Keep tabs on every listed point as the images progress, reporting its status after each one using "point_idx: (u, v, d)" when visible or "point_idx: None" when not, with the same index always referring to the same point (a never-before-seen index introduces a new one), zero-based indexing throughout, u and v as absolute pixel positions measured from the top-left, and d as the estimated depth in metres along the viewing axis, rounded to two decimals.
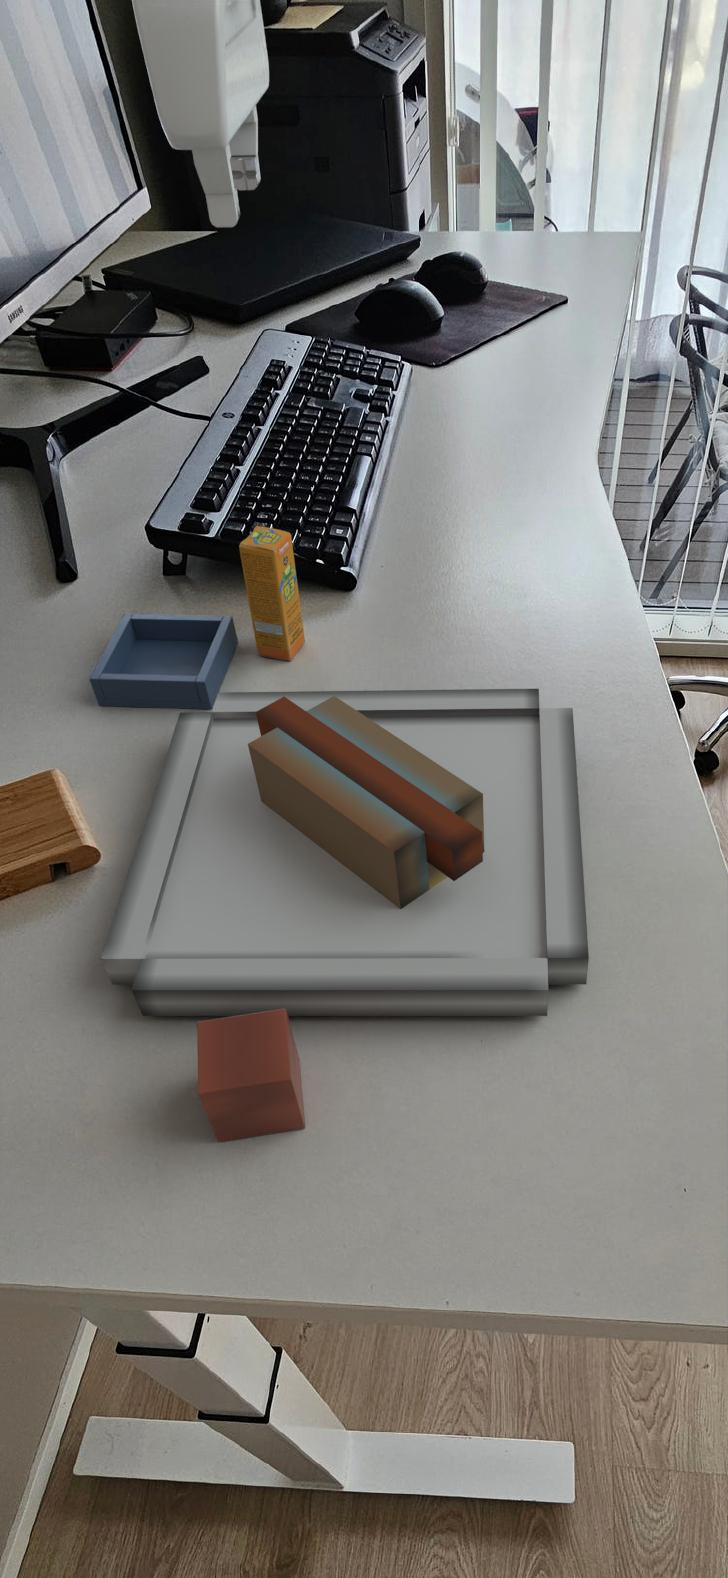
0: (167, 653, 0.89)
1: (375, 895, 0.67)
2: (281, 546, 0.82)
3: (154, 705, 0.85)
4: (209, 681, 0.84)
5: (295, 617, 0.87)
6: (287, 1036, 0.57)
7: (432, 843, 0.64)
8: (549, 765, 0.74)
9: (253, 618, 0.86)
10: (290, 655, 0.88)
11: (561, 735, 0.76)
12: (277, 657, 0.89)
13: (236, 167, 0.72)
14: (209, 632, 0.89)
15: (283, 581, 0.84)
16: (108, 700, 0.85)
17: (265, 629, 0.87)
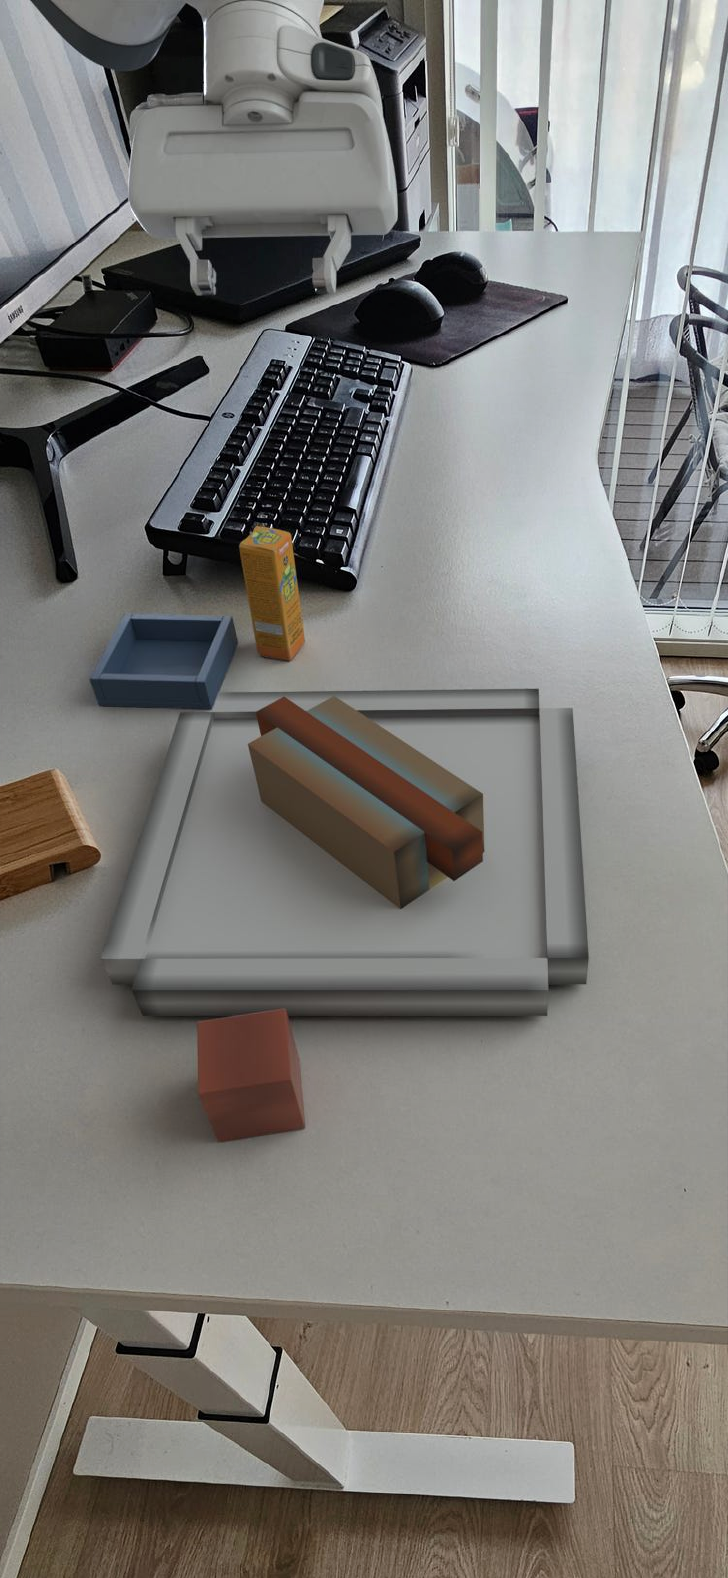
0: (167, 653, 0.89)
1: (375, 895, 0.67)
2: (281, 546, 0.82)
3: (154, 705, 0.85)
4: (209, 681, 0.84)
5: (295, 617, 0.87)
6: (287, 1036, 0.57)
7: (432, 843, 0.64)
8: (549, 765, 0.74)
9: (253, 618, 0.86)
10: (290, 655, 0.88)
11: (561, 735, 0.76)
12: (277, 657, 0.89)
13: (210, 269, 0.79)
14: (209, 632, 0.89)
15: (283, 581, 0.84)
16: (108, 700, 0.85)
17: (265, 629, 0.87)
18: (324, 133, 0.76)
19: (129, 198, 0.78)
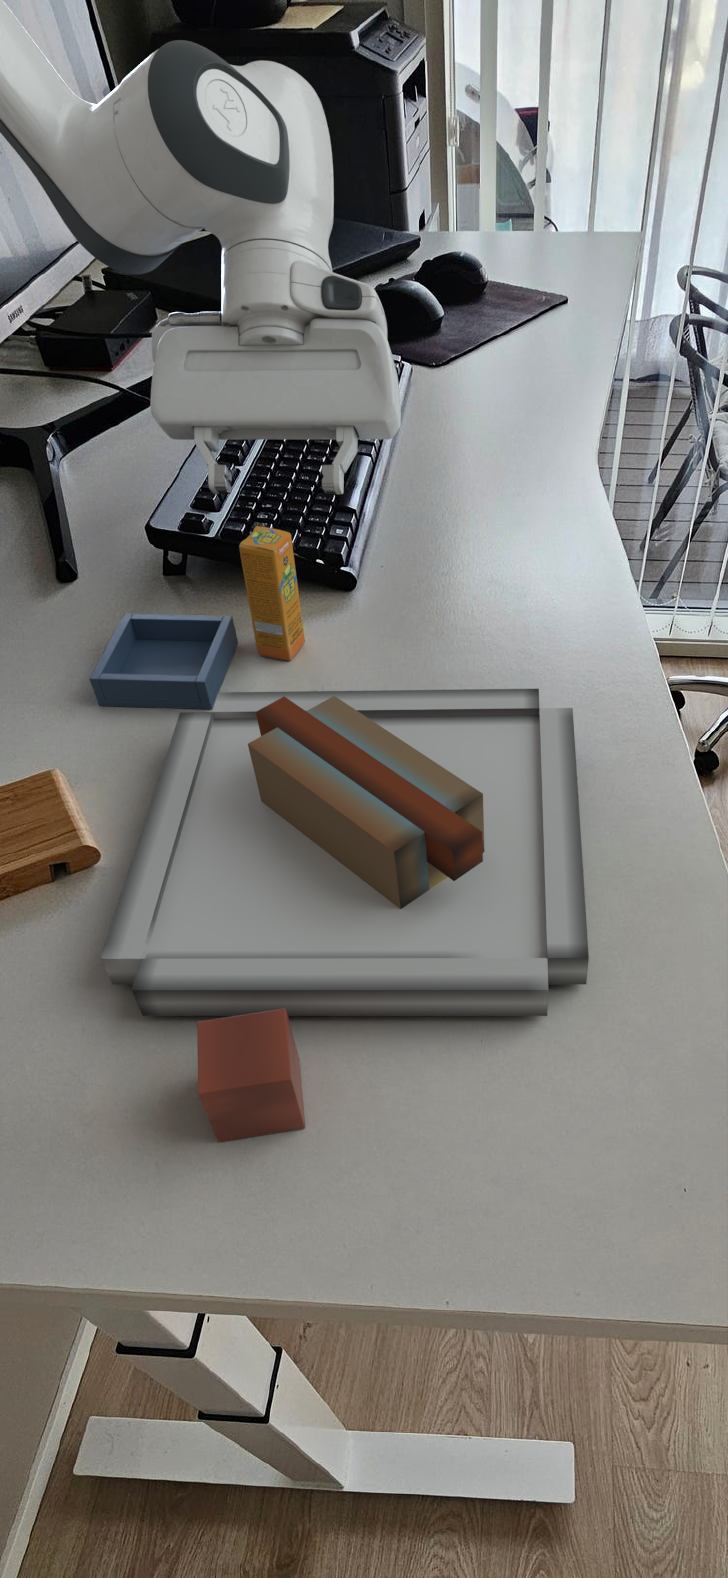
0: (167, 653, 0.89)
1: (375, 895, 0.67)
2: (281, 546, 0.82)
3: (154, 705, 0.85)
4: (209, 681, 0.84)
5: (295, 617, 0.87)
6: (287, 1036, 0.57)
7: (432, 843, 0.64)
8: (549, 765, 0.74)
9: (253, 618, 0.86)
10: (290, 655, 0.88)
11: (561, 735, 0.76)
12: (277, 657, 0.89)
13: (226, 472, 0.85)
14: (209, 632, 0.89)
15: (283, 581, 0.84)
16: (108, 700, 0.85)
17: (265, 629, 0.87)
18: (333, 353, 0.82)
19: (151, 409, 0.84)
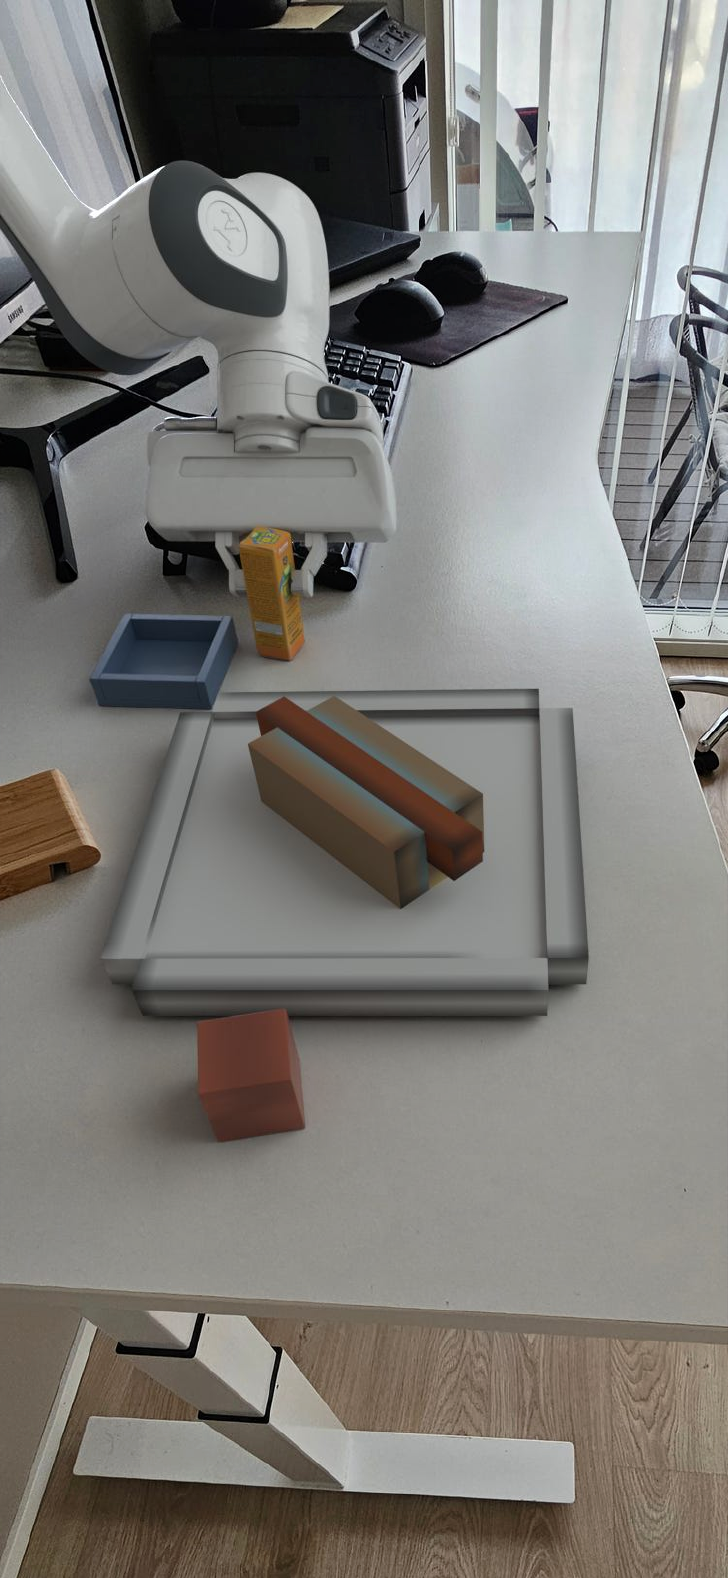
0: (167, 653, 0.89)
1: (375, 895, 0.67)
2: (281, 546, 0.82)
3: (154, 705, 0.85)
4: (209, 681, 0.84)
5: (295, 617, 0.87)
6: (287, 1036, 0.57)
7: (432, 843, 0.64)
8: (549, 765, 0.74)
9: (252, 618, 0.86)
10: (289, 655, 0.88)
11: (561, 735, 0.76)
12: (277, 657, 0.89)
13: None
14: (209, 632, 0.89)
15: (282, 581, 0.84)
16: (108, 700, 0.85)
17: (265, 629, 0.87)
18: (328, 461, 0.82)
19: (147, 515, 0.83)
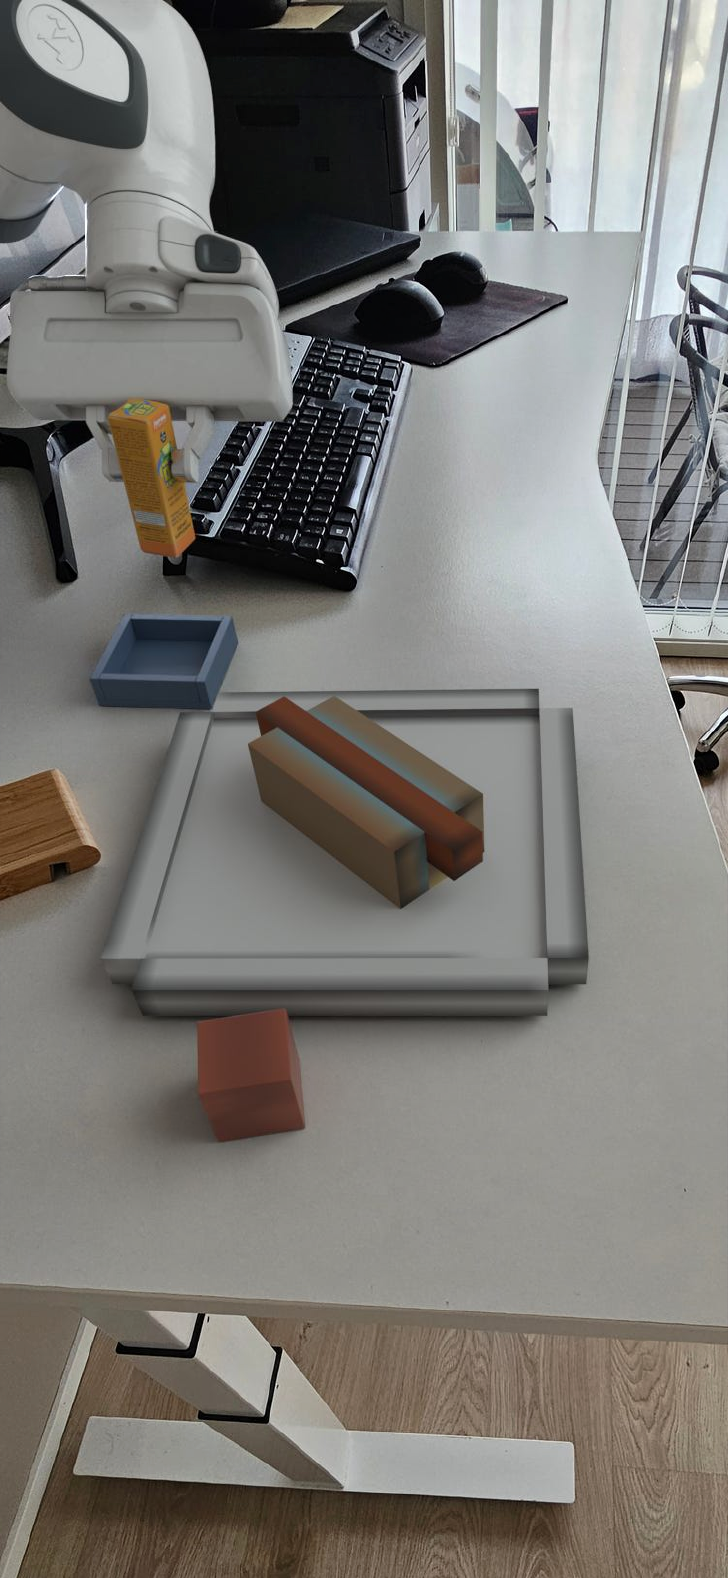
0: (167, 653, 0.89)
1: (375, 895, 0.67)
2: (156, 418, 0.72)
3: (154, 705, 0.85)
4: (209, 681, 0.84)
5: (180, 507, 0.78)
6: (287, 1036, 0.57)
7: (432, 843, 0.64)
8: (549, 765, 0.74)
9: (131, 507, 0.77)
10: (175, 551, 0.79)
11: (561, 735, 0.76)
12: (162, 553, 0.79)
13: None
14: (209, 632, 0.89)
15: (161, 461, 0.74)
16: (108, 700, 0.85)
17: (146, 520, 0.77)
18: (211, 323, 0.73)
19: (8, 385, 0.74)
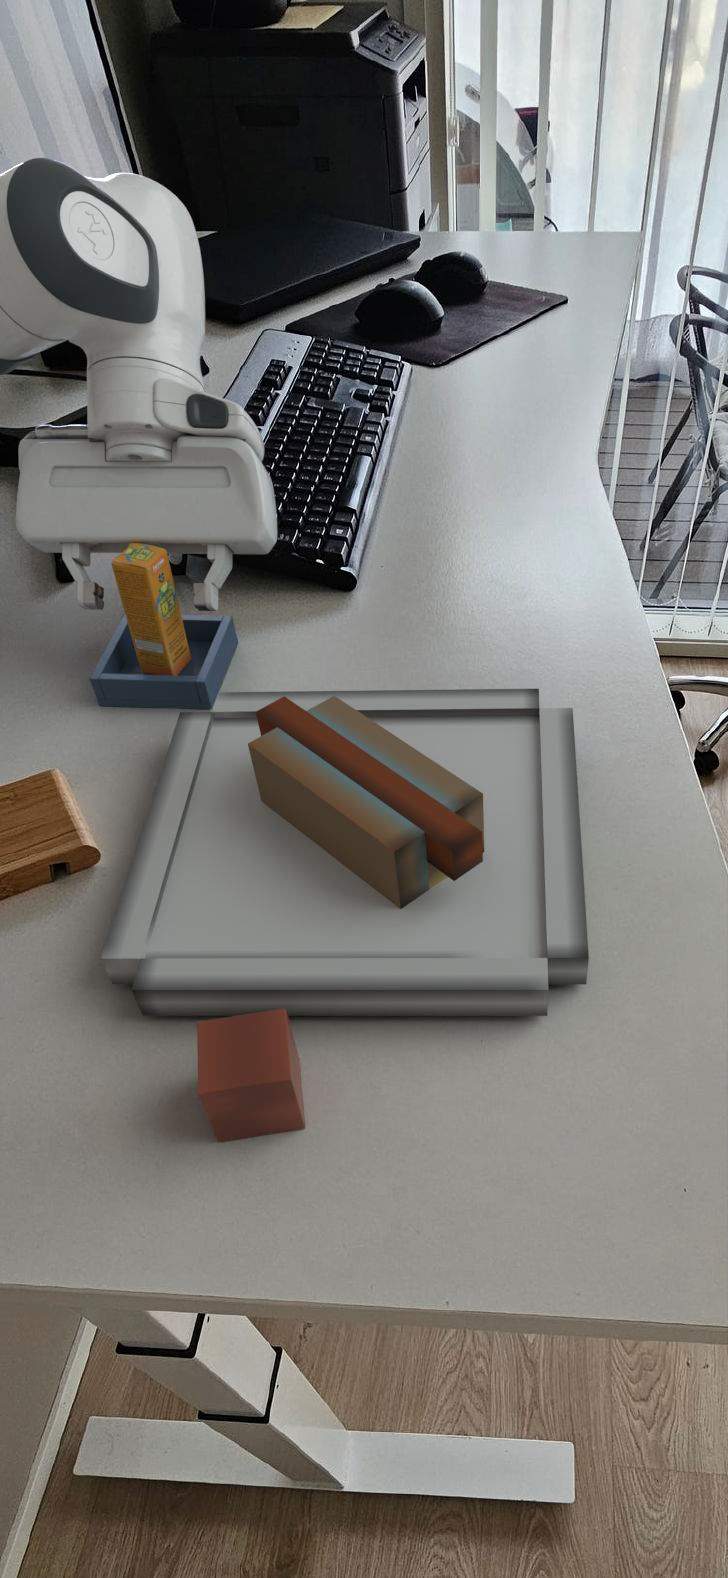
0: None
1: (375, 895, 0.67)
2: (155, 563, 0.80)
3: (154, 705, 0.85)
4: (209, 681, 0.84)
5: (177, 635, 0.85)
6: (287, 1036, 0.57)
7: (432, 843, 0.64)
8: (549, 765, 0.74)
9: (132, 636, 0.84)
10: (173, 673, 0.86)
11: (561, 735, 0.76)
12: None
13: (97, 589, 0.82)
14: (209, 632, 0.89)
15: (159, 599, 0.81)
16: (108, 700, 0.85)
17: (146, 647, 0.84)
18: (202, 470, 0.80)
19: (17, 526, 0.81)
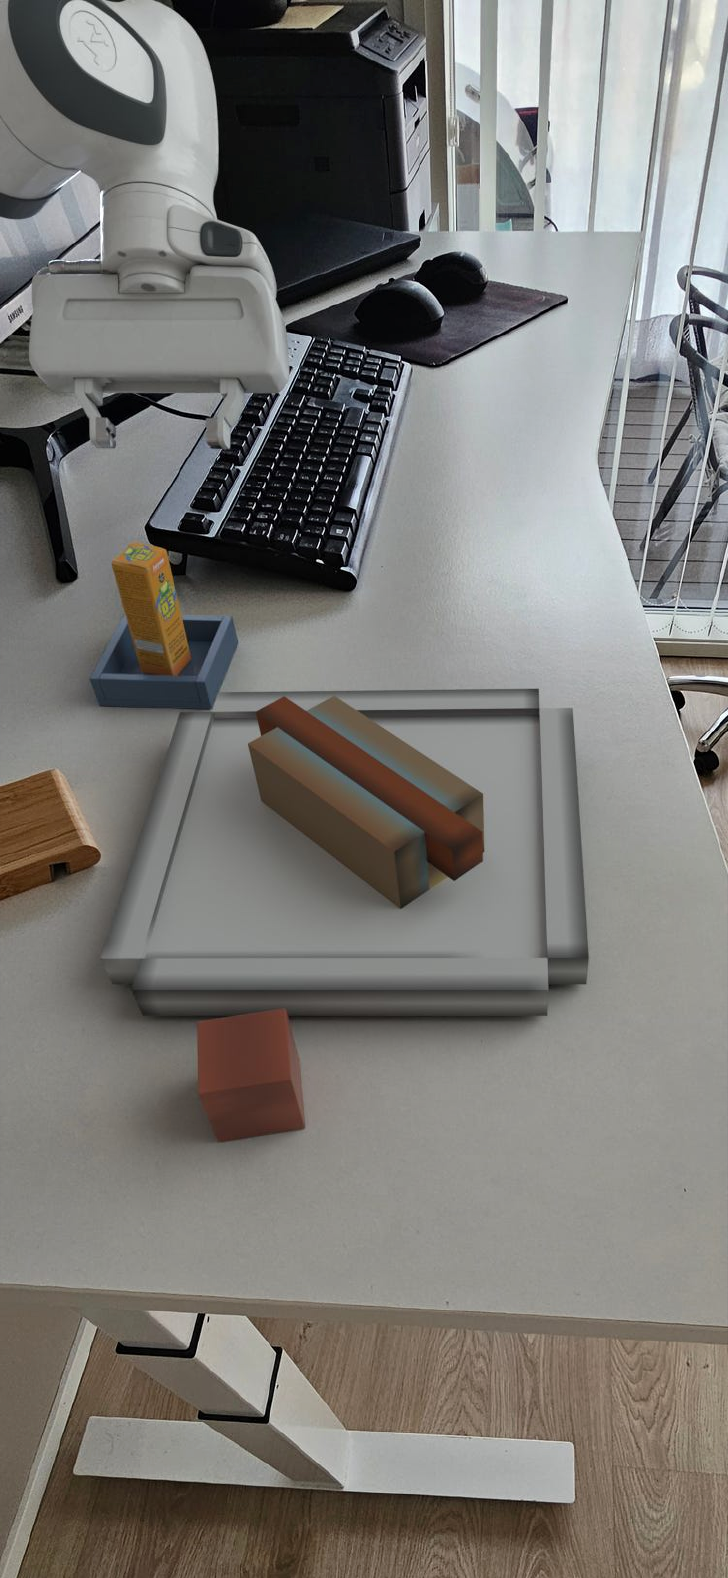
0: None
1: (375, 895, 0.67)
2: (155, 563, 0.80)
3: (154, 705, 0.85)
4: (209, 681, 0.84)
5: (177, 635, 0.85)
6: (287, 1036, 0.57)
7: (432, 843, 0.64)
8: (549, 765, 0.74)
9: (132, 636, 0.84)
10: (173, 673, 0.86)
11: (561, 735, 0.76)
12: None
13: (109, 426, 0.83)
14: (209, 632, 0.89)
15: (159, 599, 0.81)
16: (108, 700, 0.85)
17: (146, 647, 0.84)
18: (215, 302, 0.80)
19: (30, 360, 0.81)
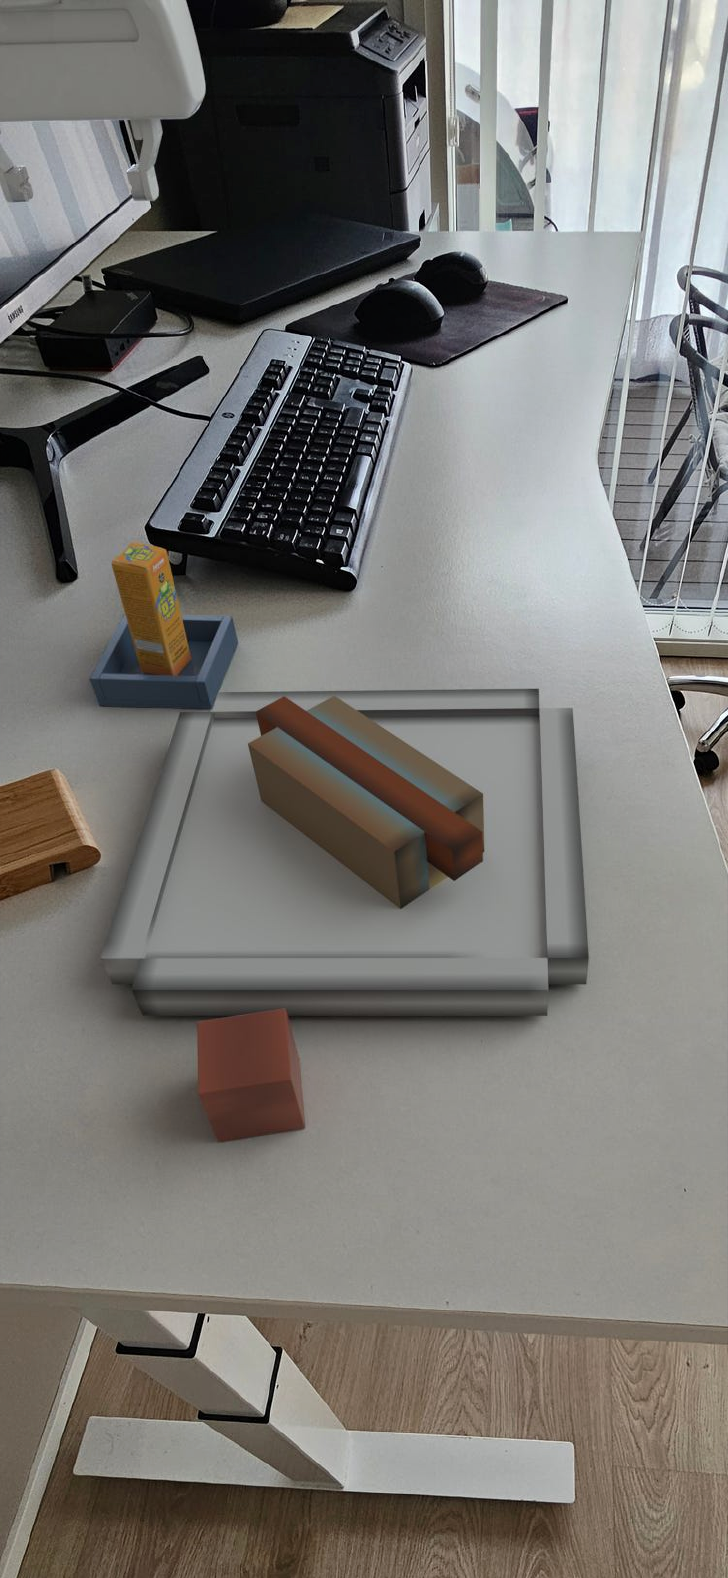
0: None
1: (375, 895, 0.67)
2: (155, 563, 0.80)
3: (154, 705, 0.85)
4: (209, 681, 0.84)
5: (177, 635, 0.85)
6: (287, 1036, 0.57)
7: (432, 843, 0.64)
8: (549, 765, 0.74)
9: (132, 636, 0.84)
10: (173, 673, 0.86)
11: (561, 735, 0.76)
12: None
13: (21, 179, 0.74)
14: (209, 632, 0.89)
15: (159, 599, 0.81)
16: (108, 700, 0.85)
17: (146, 647, 0.84)
18: (101, 13, 0.66)
19: None
